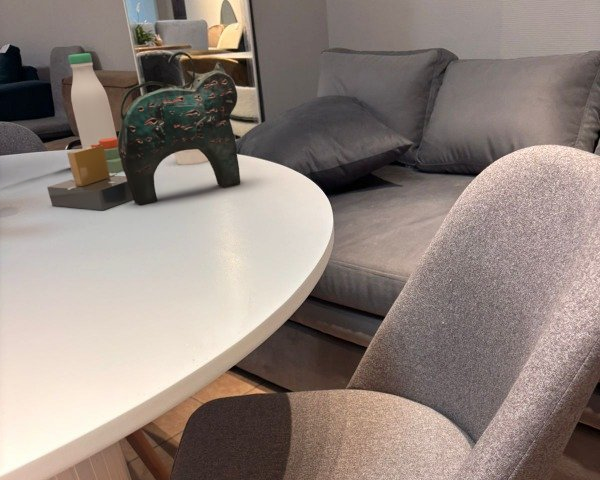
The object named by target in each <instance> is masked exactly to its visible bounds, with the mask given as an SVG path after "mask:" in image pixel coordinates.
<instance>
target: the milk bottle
mask: <svg viewBox="0 0 600 480" xmlns="http://www.w3.org/2000/svg"><path fill="white" fill-rule="evenodd" d="M67 58H68V63H69V65H70V66H69V67H70V68H71V70H72V82H71V90H70V100H71V105H72V106H71V107H72V111H73V114H74V115H73V116H74V119H75V123H76V127H77V132H78V136H79V140H80V144H81V147H82V148H81V149H83V148H87V147H91V145H93V144H99V140H102V139H107V138H117V139H118V136H117V132H116V131H117V130H116V128H115V121H114V119H113V114H112V109H111V104H110V101H109V98H108V94H107V92H106V90H105V88H104V87H103V84H102V83H101V81H100V80H99V78H98V77H97V75H96V73H95V71H94V67H93V65H94V63H93V58H92V55H91V53H88V52H87V53H76V54H69V55H68V57H67Z"/></svg>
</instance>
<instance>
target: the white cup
mask: <svg viewBox="0 0 600 480" xmlns="http://www.w3.org/2000/svg"><path fill="white" fill-rule="evenodd" d="M173 155H174V161H175V163H176V164H177V165H180V166H187V165H197V164H202V163H206V162H209V160H208V159H207V158H206V156H205V155H204V154H203V153H202V152H201V151H200V150H198V149H192V150H184V151H179V152H176V153H173Z"/></svg>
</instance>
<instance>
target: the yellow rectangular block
mask: <svg viewBox="0 0 600 480" xmlns="http://www.w3.org/2000/svg"><path fill="white" fill-rule="evenodd" d="M66 155H67V158H68V162H69V166H70V170H71V173H72V179H74V181H75V185H76V186H85V185H88V184H91V183H94V182H98V181H101V180H104V179H107V178H110V175H111V173H109V170H108V166H107V161H106V157H105V153H104V148H103V145H101V144H93V145H91V147H87V148H80V149H76V150H72V151H69V152H67V153H66Z"/></svg>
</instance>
